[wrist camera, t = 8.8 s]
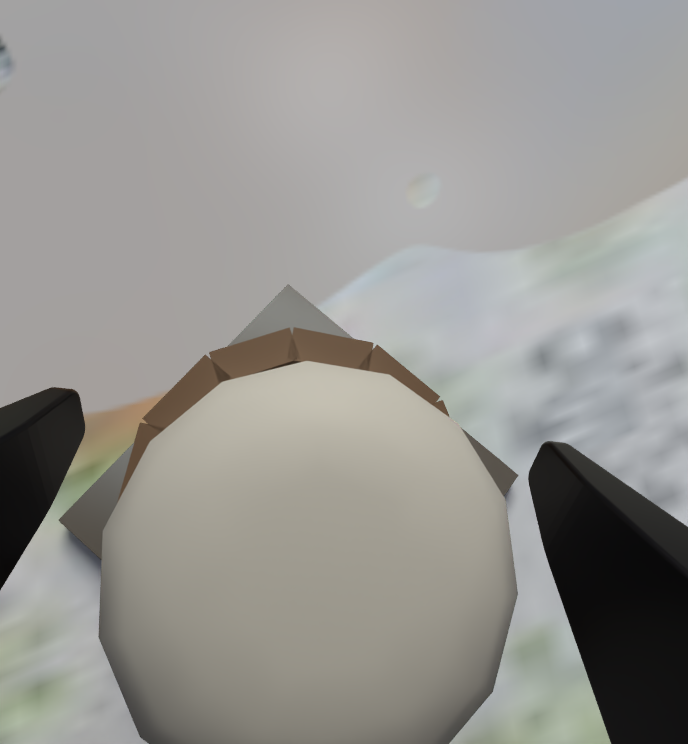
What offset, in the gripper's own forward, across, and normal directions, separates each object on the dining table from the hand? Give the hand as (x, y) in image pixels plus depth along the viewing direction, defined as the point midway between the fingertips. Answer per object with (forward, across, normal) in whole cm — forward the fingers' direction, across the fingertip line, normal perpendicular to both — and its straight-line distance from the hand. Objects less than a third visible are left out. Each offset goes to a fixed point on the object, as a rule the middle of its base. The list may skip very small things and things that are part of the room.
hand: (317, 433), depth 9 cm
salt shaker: (+5, 0, +7) cm, 9 cm away
